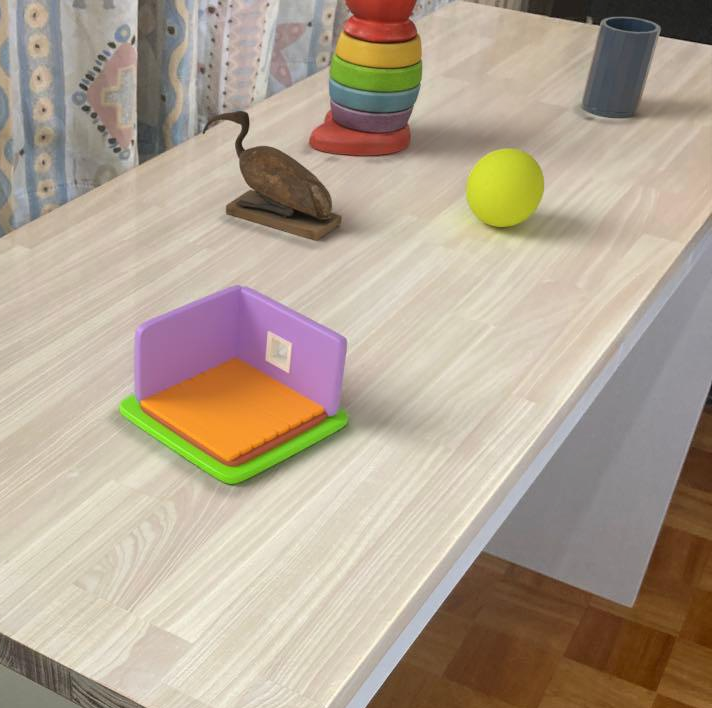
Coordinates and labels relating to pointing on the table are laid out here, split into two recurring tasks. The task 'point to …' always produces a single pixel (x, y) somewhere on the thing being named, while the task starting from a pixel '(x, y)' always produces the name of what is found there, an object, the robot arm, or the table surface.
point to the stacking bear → (372, 80)
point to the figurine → (279, 189)
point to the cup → (620, 66)
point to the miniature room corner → (236, 382)
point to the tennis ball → (505, 187)
